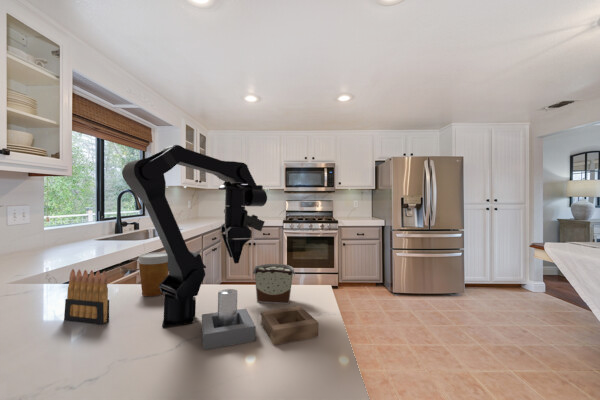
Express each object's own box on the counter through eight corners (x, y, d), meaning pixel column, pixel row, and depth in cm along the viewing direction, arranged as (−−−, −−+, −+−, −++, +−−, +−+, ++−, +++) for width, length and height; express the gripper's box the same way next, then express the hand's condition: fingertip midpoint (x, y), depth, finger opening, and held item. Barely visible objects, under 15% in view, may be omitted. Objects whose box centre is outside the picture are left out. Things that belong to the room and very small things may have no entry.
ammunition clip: (109, 321, 62) (111, 270, 62) (102, 325, 60) (104, 272, 61) (71, 317, 64) (73, 267, 64) (63, 320, 62) (65, 269, 62)
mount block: (273, 345, 52) (273, 330, 53) (261, 324, 62) (261, 311, 62) (318, 336, 56) (318, 322, 56) (300, 318, 66) (300, 305, 66)
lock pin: (218, 339, 54) (219, 295, 55) (216, 331, 58) (217, 290, 58) (237, 336, 56) (238, 293, 56) (234, 328, 60) (235, 288, 60)
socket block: (203, 350, 50) (203, 334, 50) (201, 327, 60) (201, 314, 60) (255, 340, 54) (255, 326, 54) (245, 321, 63) (246, 308, 63)
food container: (296, 296, 81) (297, 264, 81) (294, 304, 75) (294, 268, 75) (257, 294, 82) (258, 262, 83) (252, 301, 76) (252, 267, 76)
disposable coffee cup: (158, 286, 89) (159, 251, 89) (177, 291, 84) (178, 253, 85) (129, 294, 80) (130, 255, 81) (148, 300, 76) (149, 258, 76)
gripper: (270, 206, 71) (269, 264, 71) (255, 206, 88) (254, 253, 88) (228, 206, 67) (227, 267, 66) (220, 205, 84) (219, 255, 84)
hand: (233, 260), depth 76 cm, fingers open, 9 cm apart
